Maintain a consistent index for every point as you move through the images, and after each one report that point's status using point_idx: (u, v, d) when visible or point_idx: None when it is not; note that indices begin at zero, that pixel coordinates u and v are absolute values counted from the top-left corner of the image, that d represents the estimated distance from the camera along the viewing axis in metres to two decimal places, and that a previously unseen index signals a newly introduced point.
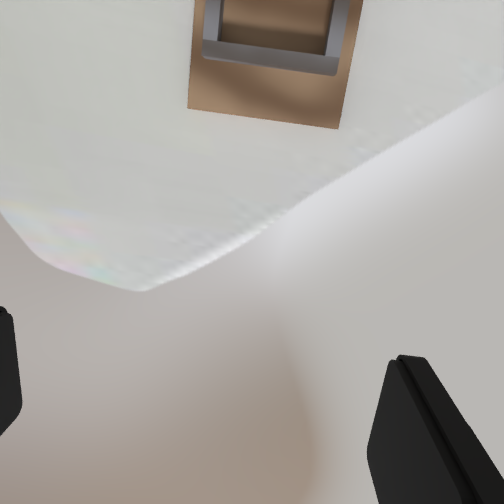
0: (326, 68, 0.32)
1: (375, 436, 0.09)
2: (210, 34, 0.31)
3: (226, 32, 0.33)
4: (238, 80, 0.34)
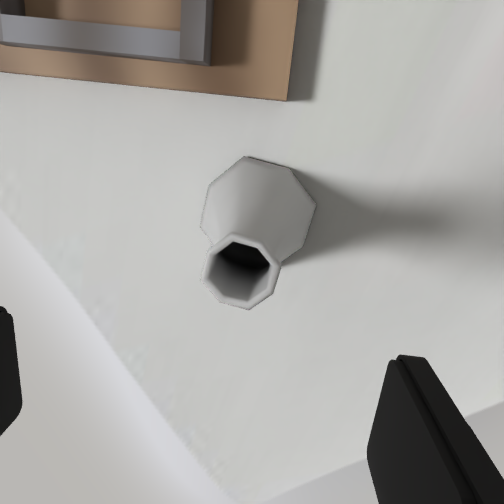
0: None
1: (375, 436, 0.09)
2: None
3: None
4: None
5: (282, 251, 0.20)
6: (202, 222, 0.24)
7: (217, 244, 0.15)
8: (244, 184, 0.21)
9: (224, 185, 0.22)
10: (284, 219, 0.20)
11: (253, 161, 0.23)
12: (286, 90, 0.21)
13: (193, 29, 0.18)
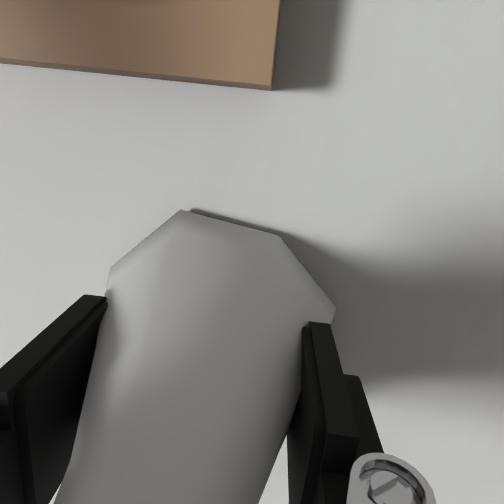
0: None
1: None
2: None
3: None
4: None
5: (261, 494, 0.07)
6: None
7: None
8: (164, 297, 0.08)
9: (129, 283, 0.10)
10: (265, 406, 0.07)
11: (200, 222, 0.10)
12: (270, 60, 0.08)
13: None
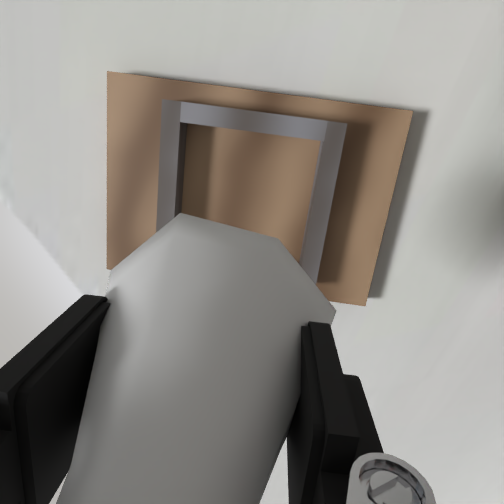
0: None
1: None
2: (187, 113, 0.24)
3: (202, 130, 0.26)
4: (148, 146, 0.26)
5: (260, 497, 0.07)
6: None
7: None
8: (163, 300, 0.08)
9: (129, 286, 0.10)
10: (265, 410, 0.07)
11: (200, 225, 0.11)
12: (365, 300, 0.29)
13: (309, 275, 0.26)
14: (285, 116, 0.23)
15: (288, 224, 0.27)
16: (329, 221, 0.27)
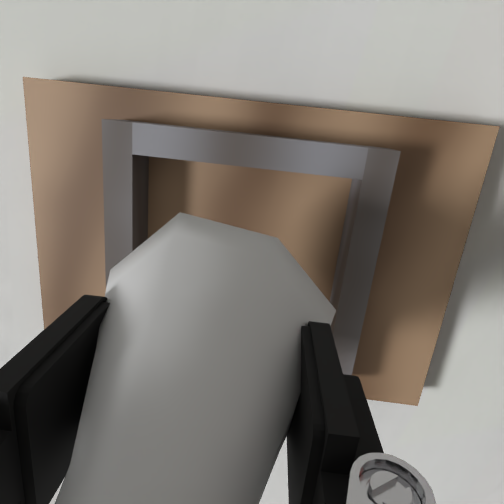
0: None
1: None
2: (142, 140, 0.15)
3: (172, 163, 0.17)
4: (93, 187, 0.18)
5: (260, 497, 0.07)
6: None
7: None
8: (163, 300, 0.08)
9: (128, 286, 0.10)
10: (265, 409, 0.07)
11: (199, 225, 0.10)
12: (418, 398, 0.20)
13: None
14: (299, 142, 0.14)
15: None
16: None
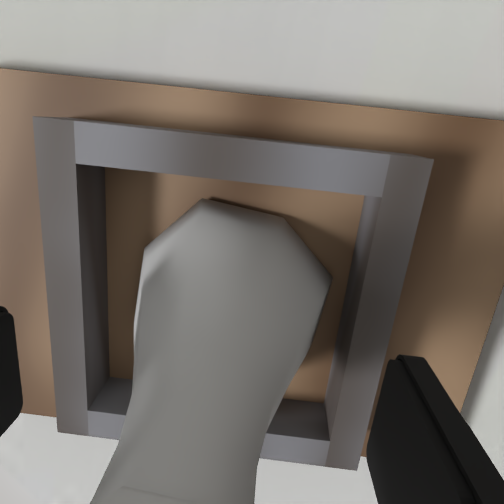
0: (63, 413, 0.14)
1: (374, 435, 0.09)
2: (88, 144, 0.11)
3: (135, 173, 0.13)
4: (36, 204, 0.14)
5: (275, 407, 0.10)
6: (135, 313, 0.14)
7: None
8: (195, 263, 0.11)
9: (164, 257, 0.12)
10: (277, 340, 0.10)
11: (218, 208, 0.13)
12: None
13: (348, 440, 0.14)
14: (298, 147, 0.11)
15: None
16: None
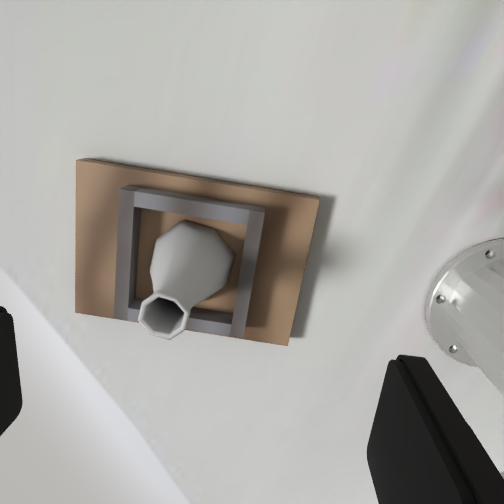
0: (117, 309, 0.33)
1: (375, 436, 0.09)
2: (139, 200, 0.30)
3: None
4: (110, 218, 0.32)
5: (202, 294, 0.29)
6: (150, 266, 0.33)
7: (148, 298, 0.24)
8: (177, 245, 0.29)
9: (165, 243, 0.31)
10: (204, 272, 0.29)
11: (188, 224, 0.32)
12: (288, 341, 0.36)
13: (239, 324, 0.33)
14: (216, 205, 0.30)
15: None
16: (257, 280, 0.34)
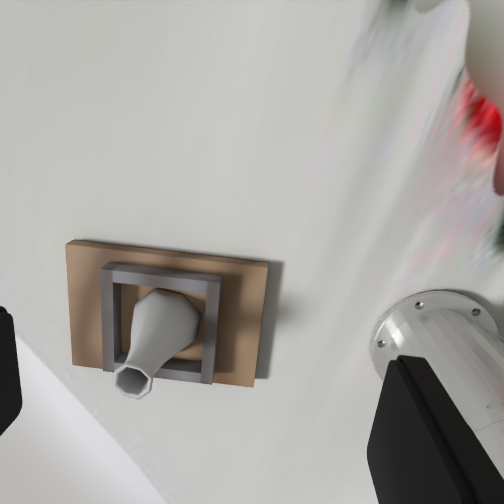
0: (105, 363, 0.39)
1: (375, 436, 0.09)
2: (116, 276, 0.36)
3: None
4: (96, 288, 0.39)
5: (169, 355, 0.35)
6: (131, 327, 0.39)
7: (119, 368, 0.30)
8: (149, 313, 0.36)
9: (140, 310, 0.37)
10: (170, 336, 0.35)
11: (159, 292, 0.38)
12: (253, 383, 0.41)
13: (207, 372, 0.39)
14: (180, 279, 0.36)
15: None
16: (222, 334, 0.40)
